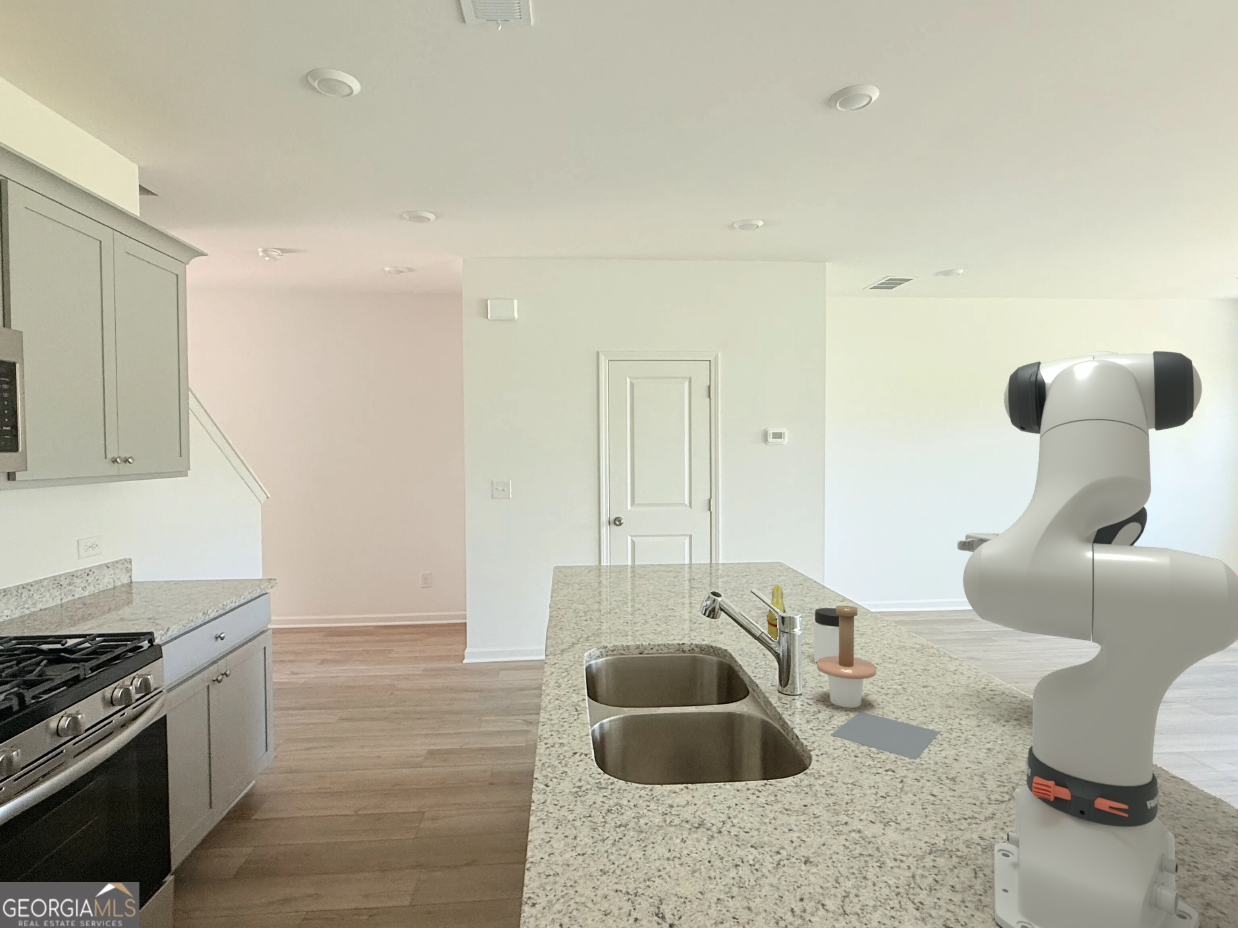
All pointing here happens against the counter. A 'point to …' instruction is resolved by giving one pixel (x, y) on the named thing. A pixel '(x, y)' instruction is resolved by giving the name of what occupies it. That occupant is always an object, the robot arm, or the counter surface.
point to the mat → (886, 734)
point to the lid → (846, 651)
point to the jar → (826, 633)
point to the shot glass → (845, 691)
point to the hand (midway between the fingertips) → (977, 549)
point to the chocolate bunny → (772, 620)
